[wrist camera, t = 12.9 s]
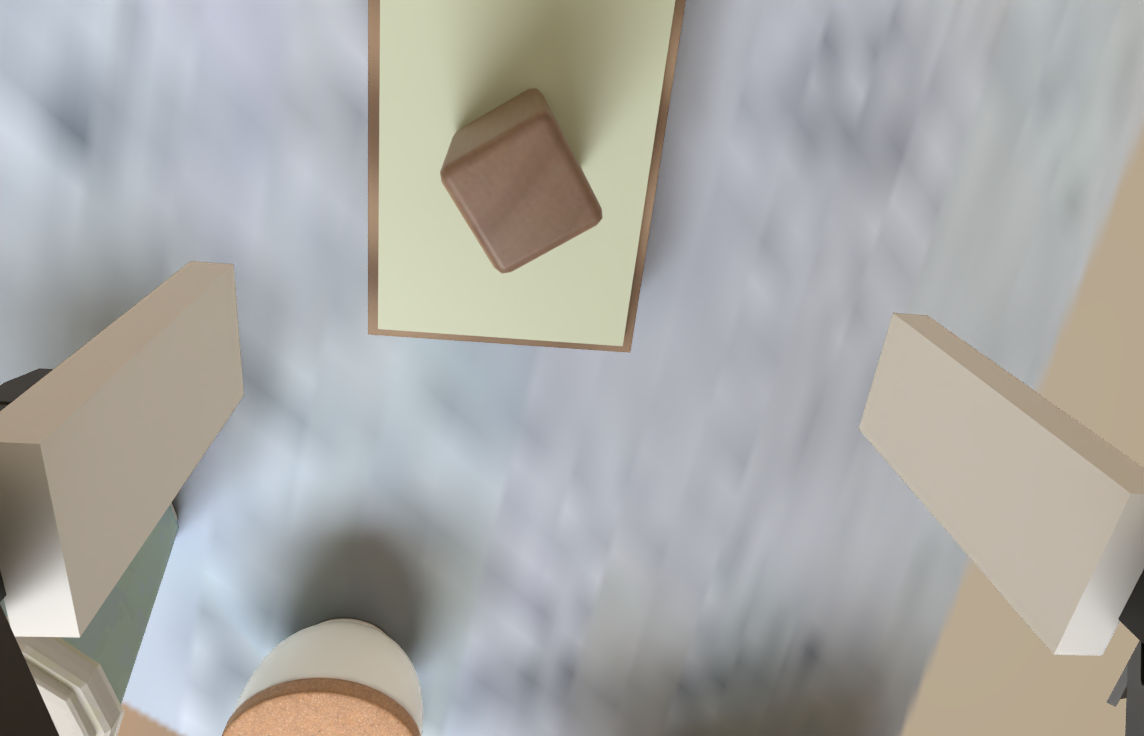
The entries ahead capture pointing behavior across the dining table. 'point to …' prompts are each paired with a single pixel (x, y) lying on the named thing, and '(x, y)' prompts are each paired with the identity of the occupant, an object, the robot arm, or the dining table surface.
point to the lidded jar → (331, 686)
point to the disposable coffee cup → (101, 645)
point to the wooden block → (518, 182)
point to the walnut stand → (470, 90)
